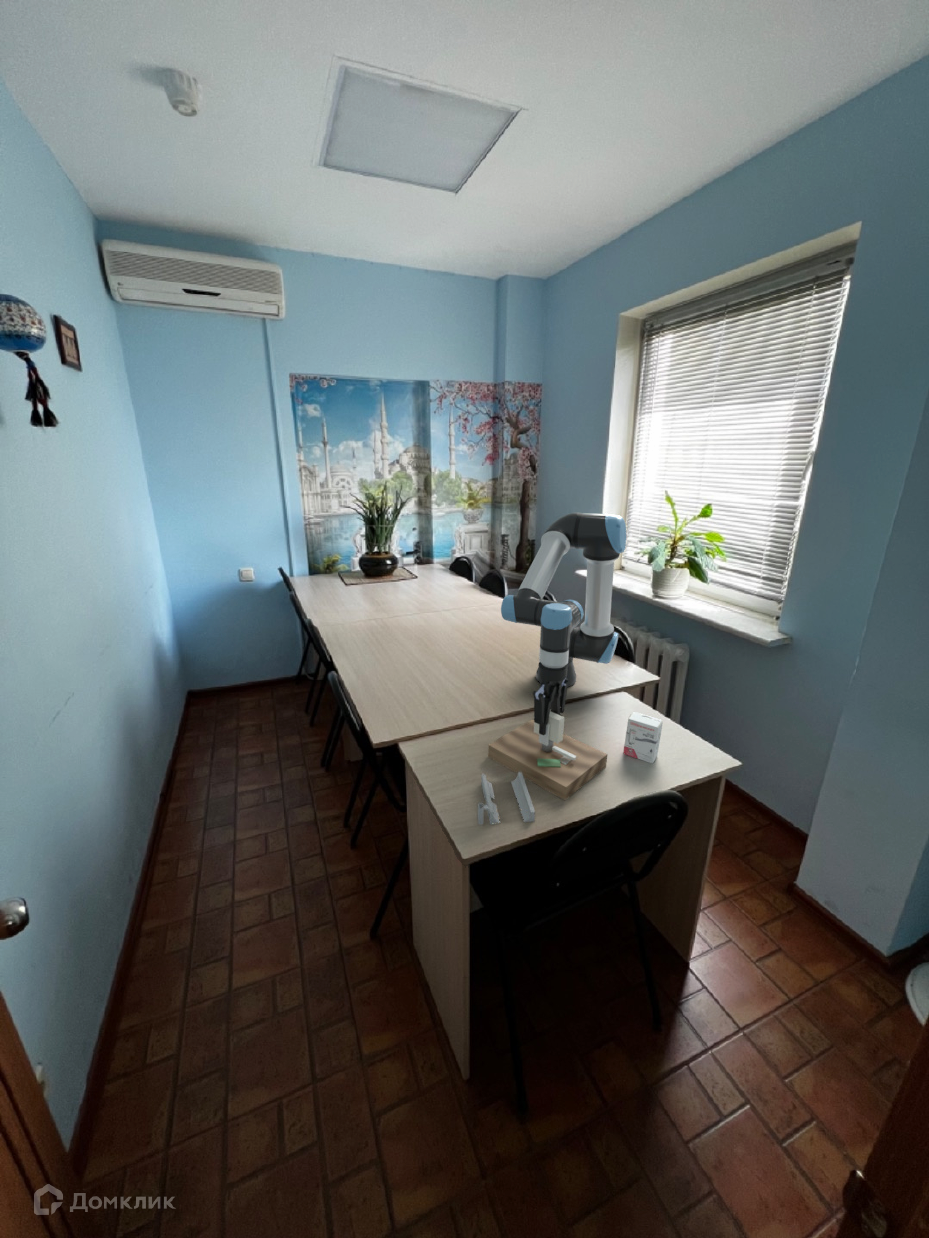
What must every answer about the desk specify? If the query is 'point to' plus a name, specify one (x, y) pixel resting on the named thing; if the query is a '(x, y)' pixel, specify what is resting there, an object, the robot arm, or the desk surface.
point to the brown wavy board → (547, 760)
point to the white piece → (555, 735)
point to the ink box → (643, 737)
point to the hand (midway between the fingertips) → (547, 740)
